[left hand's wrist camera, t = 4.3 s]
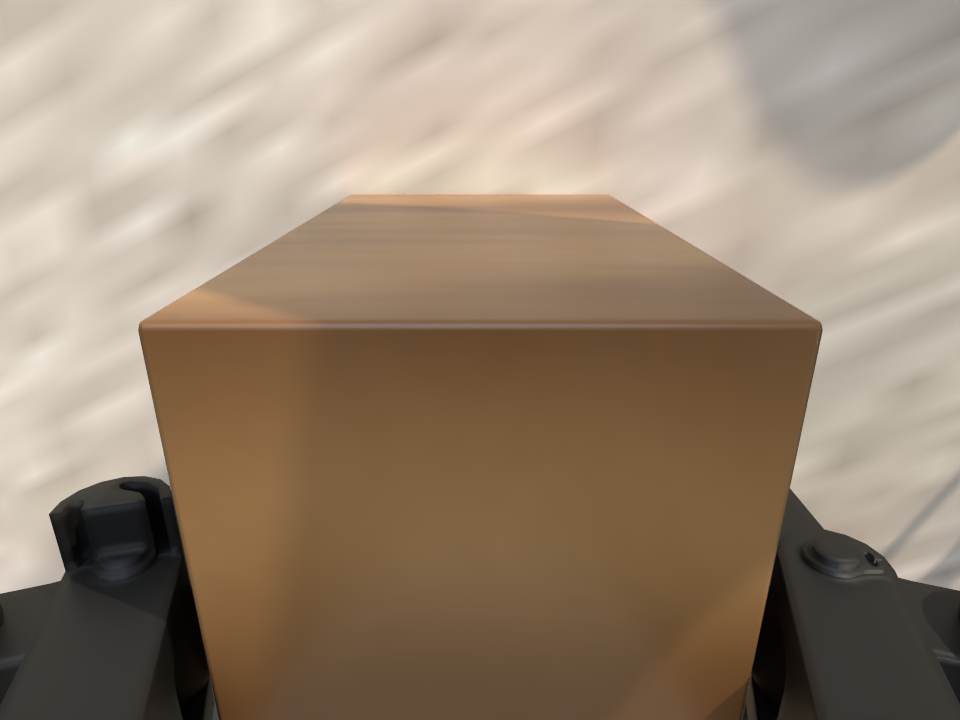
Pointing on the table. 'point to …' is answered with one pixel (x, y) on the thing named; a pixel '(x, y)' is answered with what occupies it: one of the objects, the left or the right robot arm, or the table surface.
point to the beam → (480, 463)
